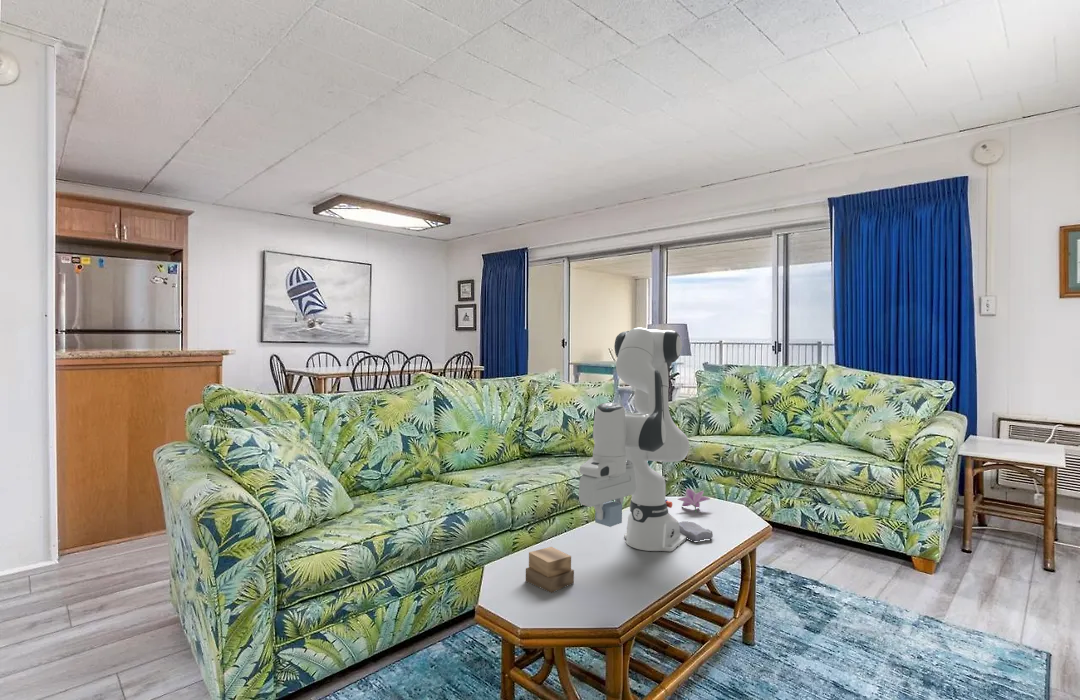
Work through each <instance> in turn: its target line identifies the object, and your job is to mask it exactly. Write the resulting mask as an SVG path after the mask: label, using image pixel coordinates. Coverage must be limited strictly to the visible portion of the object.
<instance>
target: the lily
mask: <svg viewBox="0 0 1080 700" xmlns="http://www.w3.org/2000/svg"><path fill="white" fill-rule="evenodd" d="M704 493H705V490H701V491H698V492H695V491H694V490H693V489H691V488H689V487H687V488H686V489H685V496H683V497H679V498H677V500H678V501H681V502H682V504H681V507H682V506H687V507H689V506H693V507H694V509H695V511H694V512H697V508H696V507H699V508H700V506H701V502H705V501H709V500H711V498H710V497H708V496H706V495H704Z"/></svg>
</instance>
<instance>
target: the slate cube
mask: <svg viewBox="0 0 1080 700" xmlns="http://www.w3.org/2000/svg"><path fill="white" fill-rule="evenodd" d="M602 510H603V512H605V519H602V520H599V519H597V512H596V510H595V509H594V511H595V513H594V514H595V515H594V517H595V519H594V522H595V523H596V524H600V525H602V526H606V527H610V528H612V527H614V526H616V525H620V524H622V523H623V503H622V504H620V503H616V502H615V501H614V500H612V501H608V502H605V503H603V507H602Z"/></svg>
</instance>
